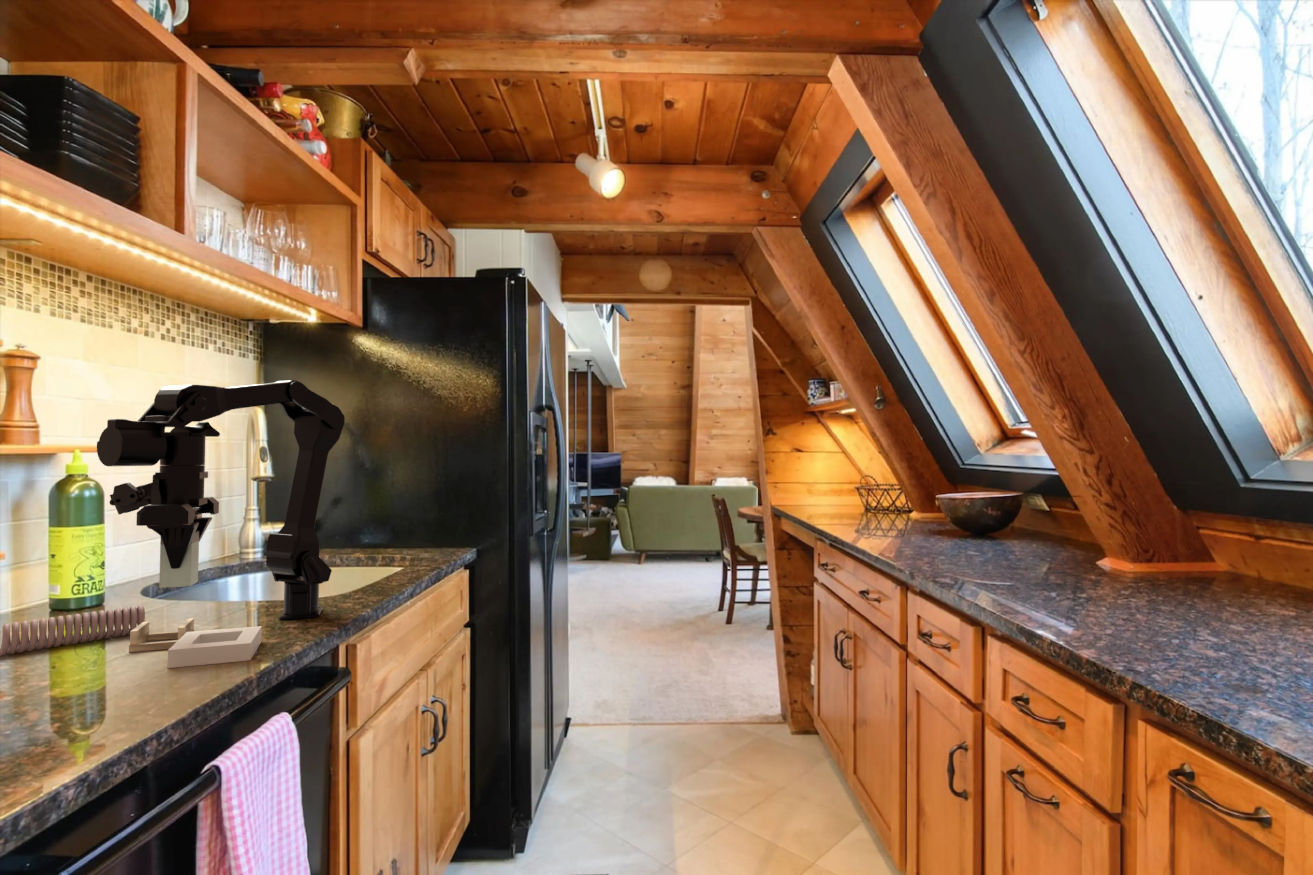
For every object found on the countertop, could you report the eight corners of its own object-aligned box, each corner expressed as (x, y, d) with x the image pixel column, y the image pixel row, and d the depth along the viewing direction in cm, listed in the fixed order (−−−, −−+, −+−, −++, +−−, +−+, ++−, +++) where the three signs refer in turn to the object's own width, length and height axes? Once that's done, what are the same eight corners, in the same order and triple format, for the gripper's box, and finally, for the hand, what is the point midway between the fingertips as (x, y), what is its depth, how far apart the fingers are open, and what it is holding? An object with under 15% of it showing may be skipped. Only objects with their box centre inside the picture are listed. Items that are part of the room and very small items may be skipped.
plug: (167, 582, 104) (169, 531, 104) (197, 581, 106) (199, 530, 106) (159, 587, 101) (160, 534, 101) (190, 586, 102) (191, 533, 102)
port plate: (186, 648, 102) (187, 631, 102) (261, 641, 106) (261, 625, 106) (167, 668, 93) (168, 650, 93) (250, 660, 97) (250, 642, 97)
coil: (143, 603, 113) (-5, 623, 100) (150, 604, 110) (-1, 625, 97) (143, 631, 113) (-6, 655, 99) (150, 633, 110) (-2, 658, 96)
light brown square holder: (143, 640, 106) (144, 621, 106) (194, 635, 109) (194, 617, 109) (128, 652, 100) (129, 632, 100) (183, 647, 103) (183, 627, 103)
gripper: (141, 463, 109) (138, 559, 109) (92, 467, 92) (89, 580, 92) (220, 464, 113) (218, 555, 113) (188, 467, 96) (185, 575, 96)
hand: (180, 565), depth 103 cm, fingers closed on plug, 4 cm apart
